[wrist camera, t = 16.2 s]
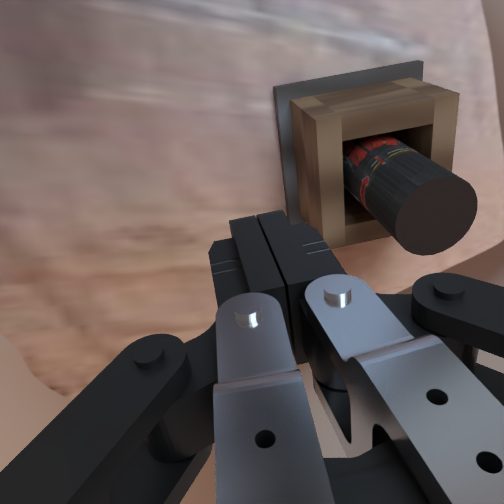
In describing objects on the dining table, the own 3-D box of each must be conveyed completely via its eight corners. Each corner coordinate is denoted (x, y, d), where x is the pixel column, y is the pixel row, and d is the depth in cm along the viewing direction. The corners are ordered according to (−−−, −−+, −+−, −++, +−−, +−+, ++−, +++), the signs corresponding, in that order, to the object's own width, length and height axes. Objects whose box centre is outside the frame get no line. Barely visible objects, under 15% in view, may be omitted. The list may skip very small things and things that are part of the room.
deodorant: (395, 133, 43) (494, 191, 30) (365, 188, 45) (445, 264, 32) (343, 111, 41) (426, 163, 28) (315, 170, 43) (379, 242, 30)
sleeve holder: (273, 86, 40) (299, 107, 33) (418, 60, 42) (476, 74, 34) (288, 221, 48) (312, 264, 40) (411, 196, 49) (457, 233, 41)
